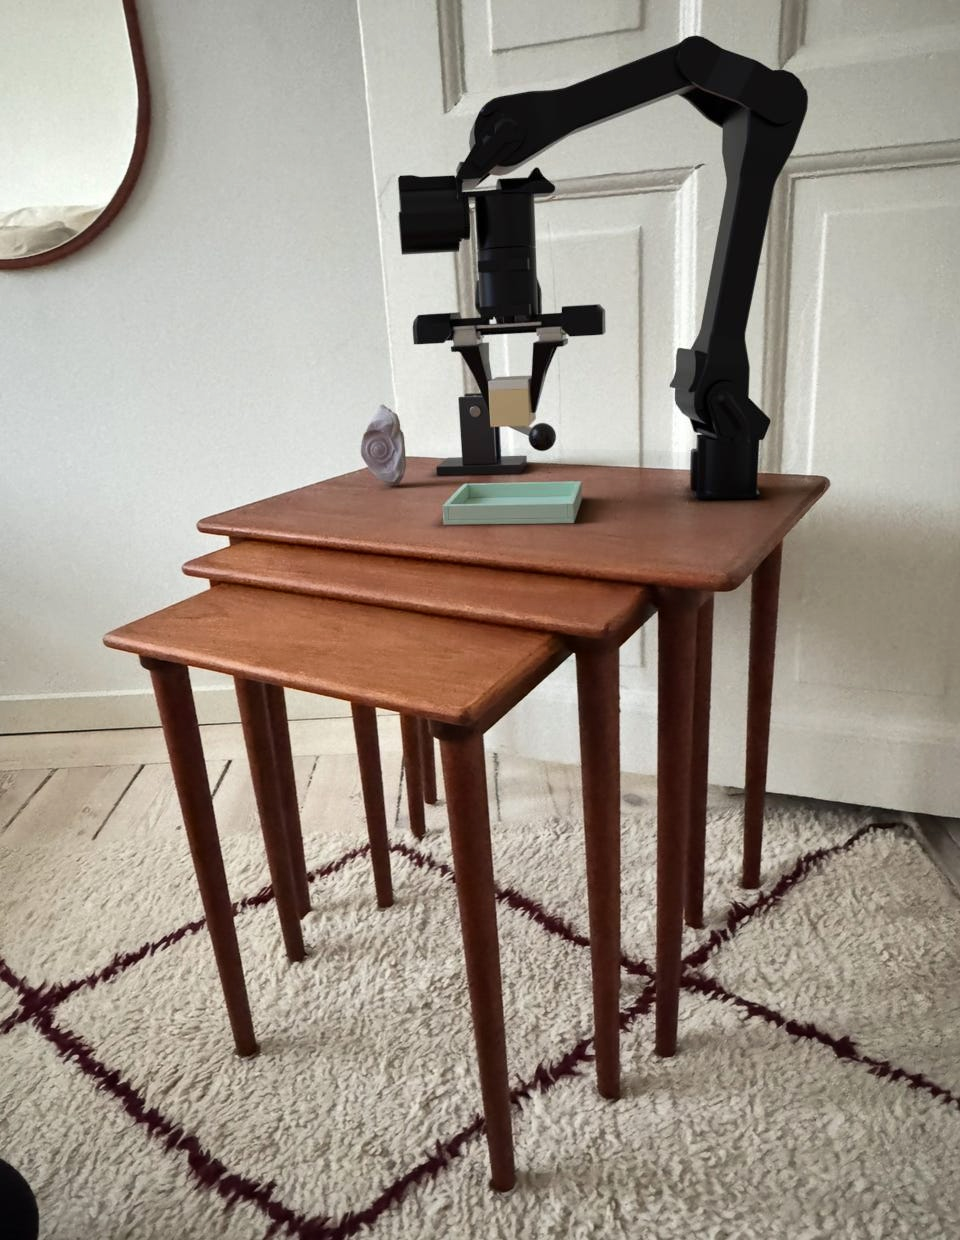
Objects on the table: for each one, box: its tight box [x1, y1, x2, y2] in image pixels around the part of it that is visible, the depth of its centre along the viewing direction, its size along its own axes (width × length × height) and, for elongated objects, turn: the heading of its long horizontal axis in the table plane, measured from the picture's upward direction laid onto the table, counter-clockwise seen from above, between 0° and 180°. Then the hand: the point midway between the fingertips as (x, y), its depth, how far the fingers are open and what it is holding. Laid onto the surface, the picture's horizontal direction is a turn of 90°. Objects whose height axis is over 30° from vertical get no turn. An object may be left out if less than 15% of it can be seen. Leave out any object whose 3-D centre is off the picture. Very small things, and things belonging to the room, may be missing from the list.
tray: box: [442, 480, 583, 526], centre depth 94 cm, size 13×11×2 cm
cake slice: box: [488, 374, 537, 428], centre depth 91 cm, size 4×5×4 cm
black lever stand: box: [435, 392, 528, 477], centre depth 117 cm, size 11×7×10 cm, turn 80°
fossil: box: [360, 404, 407, 487], centre depth 110 cm, size 6×4×10 cm, turn 68°
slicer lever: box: [474, 395, 557, 452], centre depth 116 cm, size 12×4×4 cm, turn 79°
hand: (513, 413), depth 92 cm, fingers closed on cake slice, 4 cm apart
